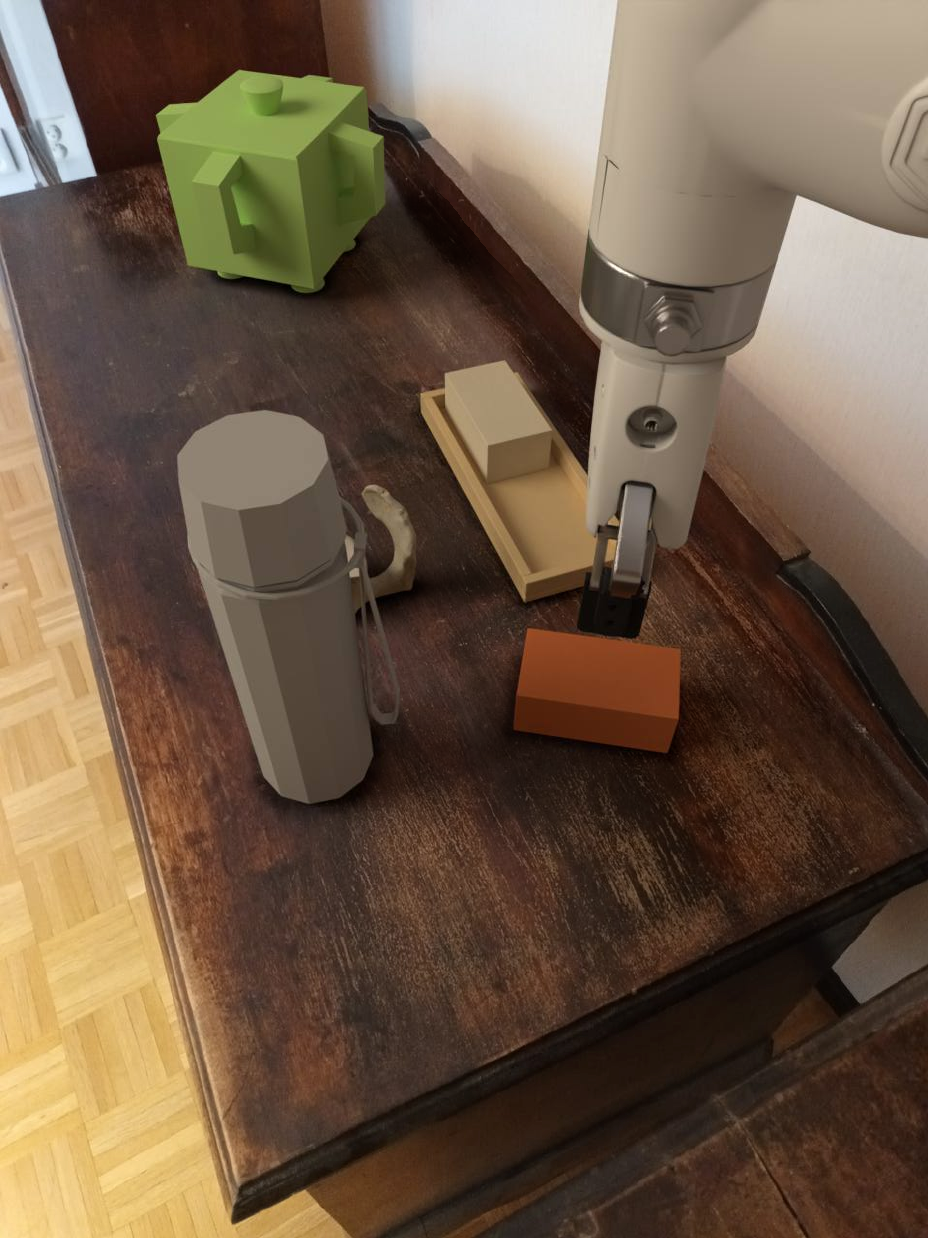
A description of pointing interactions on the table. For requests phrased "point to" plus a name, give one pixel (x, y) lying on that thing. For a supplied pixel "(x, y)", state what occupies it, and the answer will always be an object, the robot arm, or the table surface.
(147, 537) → the table surface
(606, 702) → the orange angular block
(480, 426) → the cream rectangular block
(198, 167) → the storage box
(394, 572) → the bone
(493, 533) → the wooden tray
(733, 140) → the robot arm
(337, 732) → the water bottle
